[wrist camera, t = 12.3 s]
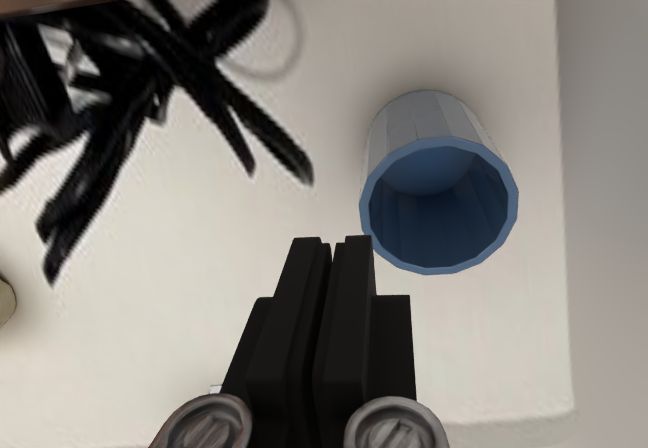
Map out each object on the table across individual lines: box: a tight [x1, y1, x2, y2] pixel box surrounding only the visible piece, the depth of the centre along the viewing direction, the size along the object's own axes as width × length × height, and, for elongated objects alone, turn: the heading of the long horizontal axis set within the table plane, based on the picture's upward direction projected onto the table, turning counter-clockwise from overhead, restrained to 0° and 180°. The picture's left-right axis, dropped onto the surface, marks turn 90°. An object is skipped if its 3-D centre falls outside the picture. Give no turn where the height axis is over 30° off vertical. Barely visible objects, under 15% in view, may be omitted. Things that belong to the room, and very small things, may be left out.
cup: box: [359, 90, 519, 275], centre depth 22 cm, size 6×6×8 cm
